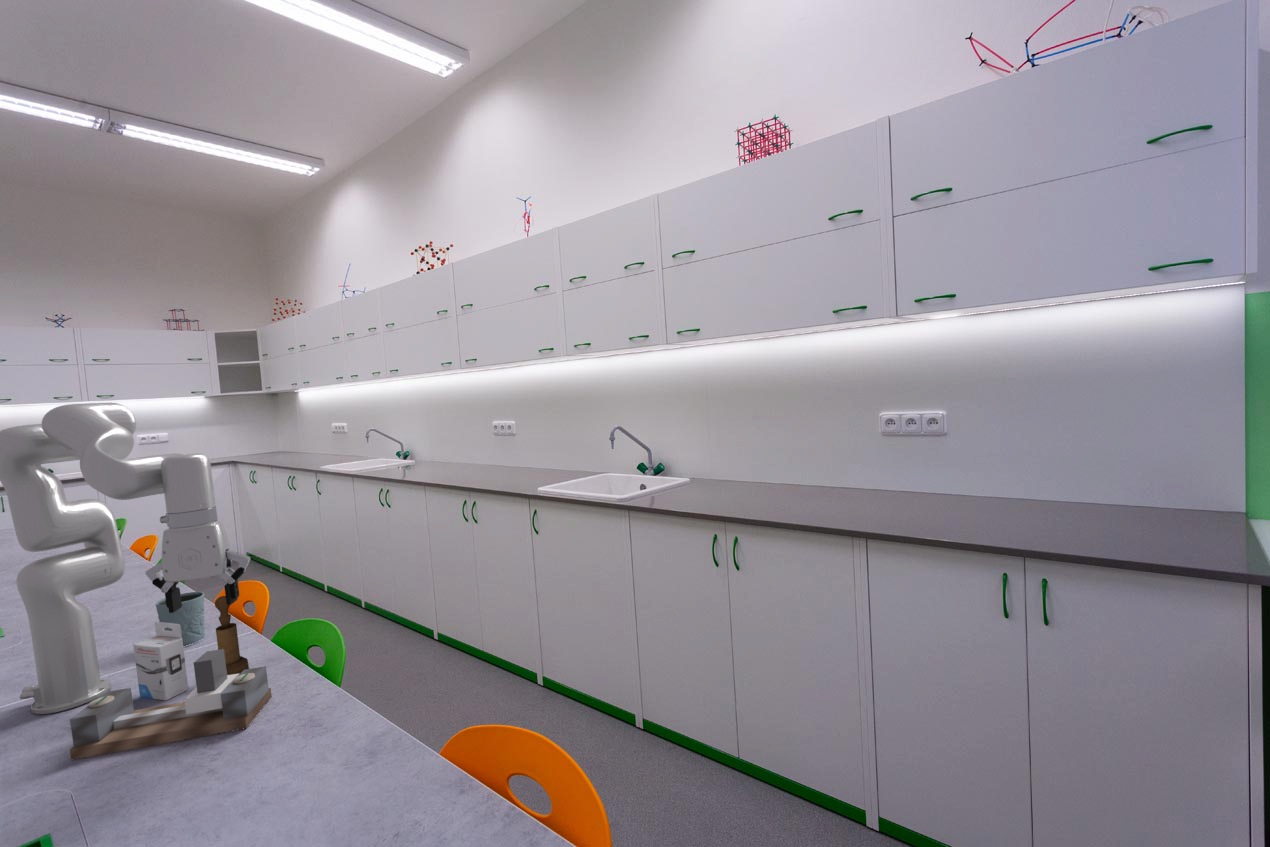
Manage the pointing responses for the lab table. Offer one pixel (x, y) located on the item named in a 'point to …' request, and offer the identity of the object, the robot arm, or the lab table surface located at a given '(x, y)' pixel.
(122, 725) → the rail stand
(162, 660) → the ink box
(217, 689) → the carriage
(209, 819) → the lab table surface
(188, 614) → the blue-grey plant pot
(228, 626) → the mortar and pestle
